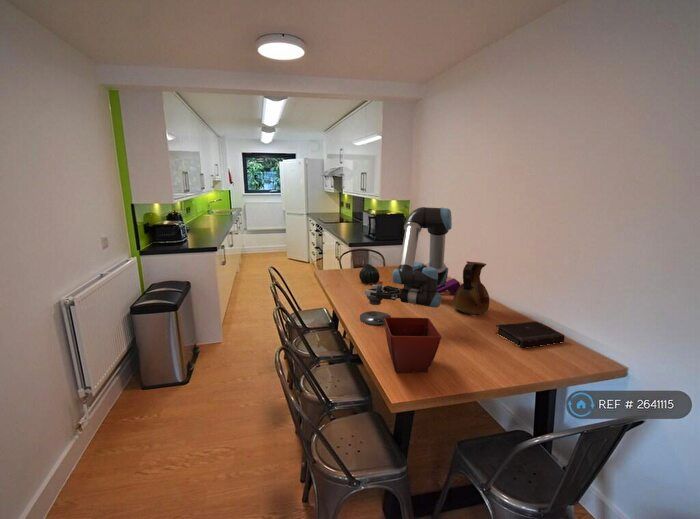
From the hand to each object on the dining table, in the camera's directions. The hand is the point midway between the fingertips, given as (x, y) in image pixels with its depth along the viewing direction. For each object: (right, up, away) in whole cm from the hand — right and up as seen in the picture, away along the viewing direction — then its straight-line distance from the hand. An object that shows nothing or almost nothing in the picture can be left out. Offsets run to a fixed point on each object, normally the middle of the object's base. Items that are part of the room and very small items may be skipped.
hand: (368, 289), depth 184 cm
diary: (+77, -23, -17) cm, 82 cm away
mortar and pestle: (+4, -8, -1) cm, 8 cm away
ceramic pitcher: (+60, -15, +16) cm, 64 cm away
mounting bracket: (+55, -7, +51) cm, 75 cm away
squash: (+4, -1, +71) cm, 71 cm away
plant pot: (+14, -27, -44) cm, 54 cm away
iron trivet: (+4, -16, +2) cm, 17 cm away
